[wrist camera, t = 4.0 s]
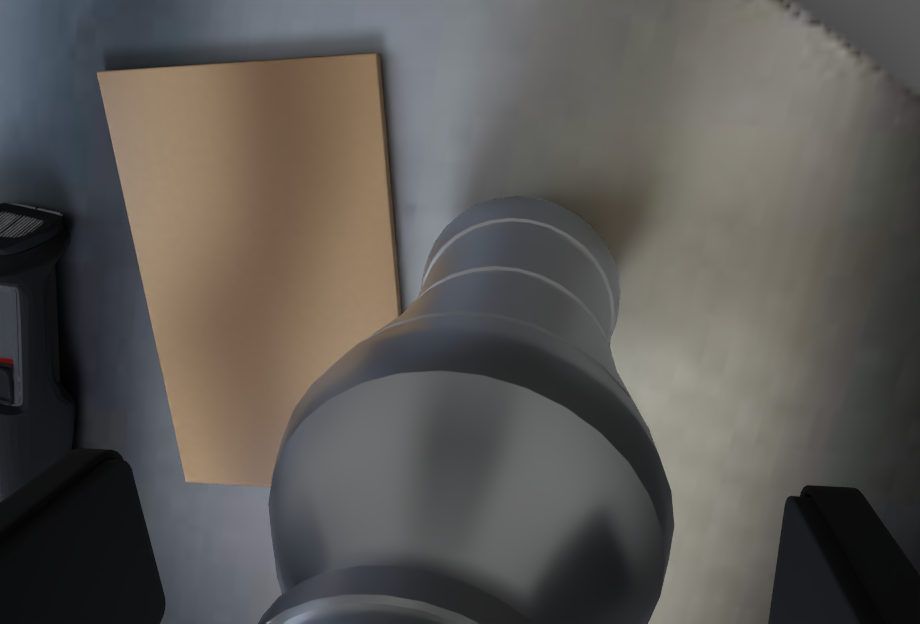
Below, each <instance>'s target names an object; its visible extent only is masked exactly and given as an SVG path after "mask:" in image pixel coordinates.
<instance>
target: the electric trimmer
mask: <svg viewBox="0 0 920 624" xmlns="http://www.w3.org/2000/svg"><path fill="white" fill-rule="evenodd" d="M20 205H21V204H19V205H18V204H17V203H16V204H15V203H12V204H8V203H1V204H0V488H1V495H2V501H3V500H5V499H6V498H7V497H9V496H10V495H11V494H13V493H14V492H15V491H17V490H18V489H20V488H21V487H22V486H24V485H25V484H26V483H28V482H29V481H30V480H32V479H33V478H35V477H36V476H37V475H39V474H40V473H41V472H43V471H44V470H45V469H47V468H48V467H49V466H51V465H52V464H54V463H55V462H56V461H58V460H59V459H60V458H62V457H63V456H64V455H66V454H67V453H69V452H71V451H72V445H73V436H74V422H75V407H76V406H75V401H74V400H73V398H72V397H71V396H70V395H69V393H68V392H67V391H66V390H65V388H64V387H63V386H62V384H61V383H60V366H59V342H58V317H57V292H56V268H55V263H56V262H57V260H58V259H59V258H60V256H61V255H62V253H63V252H64V250H65V249H66V247H67V246H68V244H69V243H70V232H69V230H67V229H65V228H62V227H63V226H62V217H61V216H62V215H63V214H62V215H60V214H61V213H60V212H59V213H58V212H57V211H56V212H57V213H56V212H55V211H54V212H53V211H50V210H49V211H50V212H49V211H48V210H47V209H46V210H47V211H46V210H43V209H40V208H38V209H36V207H35V208H34V207H31V206H30V207H29V206H28V205H27V206H28V207H27V206H26V205H25V206H24V205H21V206H20Z"/></svg>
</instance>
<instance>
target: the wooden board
mask: <svg viewBox="0 0 920 624" xmlns="http://www.w3.org/2000/svg"><path fill="white" fill-rule="evenodd" d="M97 76H98V80H99V85H100V90H101V94H102V99H103V103H104V108H105V113H106V117H107V122H108V126H109V131H110V135H111V140H112V145H113V149H114V154H115V158H116V163H117V168H118V172H119V177H120V181H121V186H122V191H123V195H124V200H125V204H126V209H127V214H128V218H129V223H130V227H131V232H132V237H133V241H134V246H135V250H136V255H137V259H138V264H139V269H140V273H141V278H142V282H143V287H144V292H145V296H146V301H147V305H148V310H149V315H150V319H151V324H152V328H153V333H154V338H155V342H156V347H157V351H158V356H159V360H160V365H161V370H162V374H163V379H164V383H165V388H166V393H167V397H168V402H169V406H170V411H171V416H172V420H173V425H174V429H175V434H176V439H177V443H178V448H179V452H180V457H181V462H182V466H183V471H184V475H185V480H186V482H197V483H213V484H230V485H246V486H262V487H271V483H272V476H273V471H274V467H275V463H276V459H277V456H278V452H279V448H280V444H281V440H282V437H283V434H284V432H285V429H286V427H287V424H288V422H289V420H290V417H291V415H292V412H293V410H294V408H295V407H296V405H297V404H298V403H299V401H300V400H301V399H302V397H303V396H304V395H305V393H306V392H307V390H308V389H309V388H310V386H311V385H312V384H313V383H314V382H315V381H316V380H317V379H318V378H319V377H321V376H322V375H323V374H324V373H325V372H326V371H327V370H328V369H329V368H330V367H331V366H332V365H333V364H334V363H336V362H337V361H338V360H339V359H340V358H341V357H343V356H344V355H345V354H346V353H347V352H349V351H350V350H351V349H352V348H353V347H354V346H356V345H357V344H358V343H360V342H362V341H364V340H365V339H366V338H368V337H369V336H371V335H372V334H374V333H375V332H377V331H378V330H379V329H381V328H382V327H384V326H385V325H387V324H388V323H390V322H391V321H393V320H394V319H396V318H397V317H399V316H400V315H402V312H401V300H400V288H399V276H398V264H397V252H396V240H395V228H394V216H393V204H392V192H391V180H390V168H389V156H388V144H387V132H386V120H385V108H384V96H383V84H382V72H381V60H380V54H378V53H365V54H350V55H335V56H320V57H305V58H290V59H275V60H260V61H245V62H230V63H215V64H199V65H184V66H169V67H154V68H139V69H124V70H109V71H98V72H97Z"/></svg>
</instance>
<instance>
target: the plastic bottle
mask: <svg viewBox="0 0 920 624" xmlns="http://www.w3.org/2000/svg"><path fill="white" fill-rule="evenodd" d="M619 301H620V283H619V274H618V271H617V268H616V265H615V262H614V259H613V256H612V254H611V252H610V251H609V249H608V247H607V246H606V244H605V242H604V240H603V239H602V238H601V237H600V236H599V234H598V233H597V232H596V231H595V230H594V229H593V228H592V227H591V225H590V224H588V223H587V222H586V221H584V220H583V219H582V218H580V217H579V216H578V215H576V214H575V213H574V212H572V211H570V210H568V209H566V208H564V207H562V206H560V205H557V204H555V203H553V202H549V201H546V200H542V199H538V198H530V197H507V198H499V199H493V200H490V201H487V202H484V203H481V204H478V205H476V206H474V207H472V208H470V209H469V210H467V211H465V212H463V213H462V214H460V215H459V216H458V217H457V218H455V219H454V220H453V221H452V222H451V223H450V224H449V225H447V226H446V228H445V229H444V230H443V232H442V233H441V234H440V236H439V237H438V238H437V240H436V241H435V243H434V245H433V248H432V250H431V252H430V254H429V256H428V259H427V263H426V266H425V269H424V274H423V278H422V283H421V291H420V294H419V296H418V298H417V299H416V300H415V301H414V302H413V303H412V304H411V305H410V306H409V307H408V308H407V309H406V310H405V312H404V313H403V314H402V315H400V316H399V317H397V318H396V319H394V320H393V321H391V322H390V323H388V324H387V325H385V326H384V327H382V328H381V329H379V330H378V331H377V332H375V333H374V334H372V335H371V336H369V337H368V338H366V339H365V340H364V341H362V342H360V343H358V344H357V345H356V346H354V347H353V348H352V349H351V350H350V351H349V352H347V353H346V354H345V355H344V356H343V357H341V358H340V359H339V360H338V361H337V362H336V363H334V364H333V365H332V366H331V367H330V368H329V369H328V370H327V371H326V372H325V373H324V374H323V375H322V376H321V377H319V378H318V379H317V380H316V381H315V382H314V383H313V384H312V385H311V386H310V388H309V389H308V390H307V392H306V393H305V395H304V396H303V397H302V399H301V400H300V401H299V403H298V404H297V405H296V407H295V408H294V410H293V412H292V415H291V417H290V420H289V422H288V424H287V427H286V429H285V432H284V434H283V437H282V440H281V444H280V448H279V452H278V456H277V459H276V463H275V467H274V471H273V476H272V483H271V490H270V497H269V514H270V525H271V536H272V543H273V550H274V557H275V565H276V572H277V578H278V581H279V584H280V588H281V591H282V595H281V596H280V597H278V599H277V600H276V601H275V602H274V603H273V604H272V606H271V607H270V608H269V609H268V610H267V611H266V613H265V614H264V615H263V616H262V618H261V619H260V621H259V623H258V624H648V622H649V620H650V618H651V615H652V613H653V611H654V609H655V607H656V604H657V602H658V600H659V598H660V595H661V590H662V586H663V582H664V577H665V573H666V569H667V565H668V560H669V555H670V549H671V543H672V537H673V531H674V517H673V506H672V494H671V489H670V486H669V483H668V480H667V477H666V474H665V471H664V469H663V466H662V463H661V460H660V457H659V454H658V452H657V449H656V447H655V444H654V442H653V439H652V436H651V433H650V430H649V428H648V426H647V425H646V423H645V421H644V420H643V418H642V416H641V414H640V412H639V410H638V409H637V407H636V405H635V403H634V401H633V400H632V398H631V396H630V394H629V392H628V390H627V389H626V387H625V385H624V383H623V381H622V379H621V378H620V376H619V374H618V372H617V370H616V366H615V363H614V360H613V357H612V353H611V349H610V339H611V336H612V333H613V331H614V328H615V325H616V321H617V315H618V310H619Z"/></svg>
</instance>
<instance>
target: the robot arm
mask: <svg viewBox="0 0 920 624" xmlns="http://www.w3.org/2000/svg"><path fill="white" fill-rule="evenodd" d="M164 611H165V596H164V592H163V588H162V584H161V581H160V577H159V573H158V569H157V565H156V561H155V558H154V554H153V550H152V546H151V542H150V538H149V534H148V531H147V527H146V523H145V519H144V515H143V511H142V508H141V504H140V500H139V496H138V492H137V488H136V484H135V481H134V477H133V473H132V469H131V467H130V465H129V464H128V463H127V462H126V461H124V460H123V458H122V456H121V455H120V454H119V453H118V452H116V451H114V450H102V449H83V448H81V449H74V450H72V451H71V452H69V453H67V454H66V455H64V456H63V457H62V458H60V459H59V460H58V461H56V462H55V463H54V464H52V465H51V466H49V467H48V468H47V469H45V470H44V471H43V472H41V473H40V474H39V475H37V476H36V477H35V478H33V479H32V480H30V481H29V482H28V483H26V484H25V485H24V486H22V487H21V488H20V489H18V490H17V491H15V492H14V493H13V494H11V495H10V496H9V497H7V498H6V499H5V500H3V501H2V502H0V624H160V622H161V620H162V617H163V615H164ZM768 624H920V576H919V574H918V573H917V571H916V570H915V568H914V567H913V566H912V564H911V563H910V561H909V560H908V558H907V557H906V556H905V554H904V553H903V551H902V550H901V548H900V547H899V545H898V544H897V543H896V541H895V540H894V538H893V537H892V535H891V534H890V533H889V531H888V530H887V528H886V527H885V525H884V524H883V523H882V521H881V520H880V518H879V517H878V515H877V514H876V513H875V511H874V510H873V508H872V507H871V505H870V504H869V503H868V501H867V500H866V498H865V497H864V495H863V494H862V493H861V492H860V491H859V490H858V489H856V488H850V487H831V486H811V485H807V486H805V487H804V488H803V490H802V491H801V495H800V497H797V496H790V497H788V498H787V500H786V503H785V508H784V515H783V522H782V530H781V537H780V544H779V551H778V558H777V565H776V572H775V579H774V586H773V593H772V601H771V608H770V615H769V622H768Z"/></svg>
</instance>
